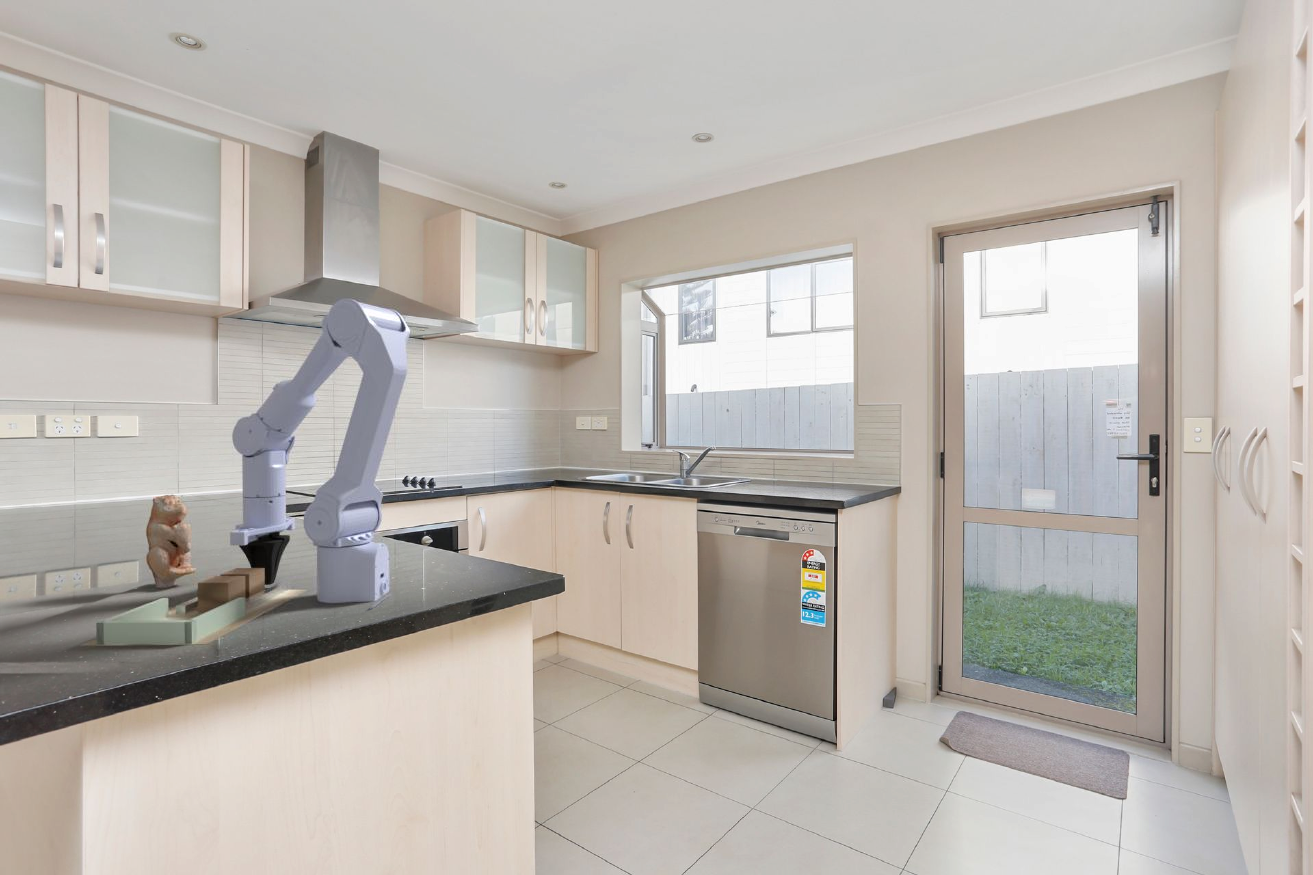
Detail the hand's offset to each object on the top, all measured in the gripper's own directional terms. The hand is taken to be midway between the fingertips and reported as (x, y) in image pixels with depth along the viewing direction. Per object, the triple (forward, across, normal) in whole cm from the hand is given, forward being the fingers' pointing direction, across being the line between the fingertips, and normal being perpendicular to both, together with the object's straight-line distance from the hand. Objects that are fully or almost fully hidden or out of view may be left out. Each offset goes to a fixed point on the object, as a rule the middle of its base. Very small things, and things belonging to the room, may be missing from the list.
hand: (265, 583), depth 102 cm
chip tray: (+1, +20, 0) cm, 20 cm away
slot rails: (+1, +7, 0) cm, 7 cm away
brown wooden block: (+1, +6, 0) cm, 6 cm away
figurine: (+2, -3, -16) cm, 16 cm away
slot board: (+2, +13, 0) cm, 14 cm away
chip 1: (+1, +11, 0) cm, 11 cm away
